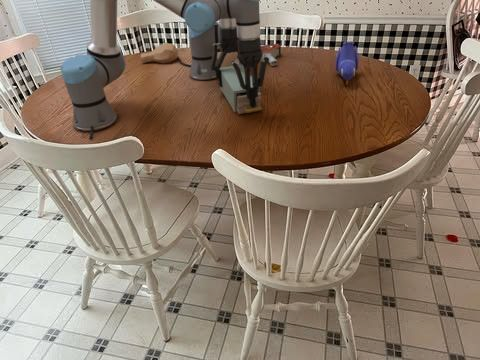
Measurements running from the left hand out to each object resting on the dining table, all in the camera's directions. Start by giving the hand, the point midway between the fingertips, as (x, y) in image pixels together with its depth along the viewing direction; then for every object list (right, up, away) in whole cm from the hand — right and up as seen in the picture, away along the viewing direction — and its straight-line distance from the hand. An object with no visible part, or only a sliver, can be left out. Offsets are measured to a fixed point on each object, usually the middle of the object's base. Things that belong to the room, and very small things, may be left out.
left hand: (252, 106), depth 128 cm
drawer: (-3, +3, +10) cm, 11 cm away
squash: (-47, +36, +61) cm, 85 cm away
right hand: (-7, +13, +19) cm, 24 cm away
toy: (+42, +17, +27) cm, 53 cm away
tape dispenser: (+10, +35, +54) cm, 66 cm away
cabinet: (-5, +7, +15) cm, 18 cm away
